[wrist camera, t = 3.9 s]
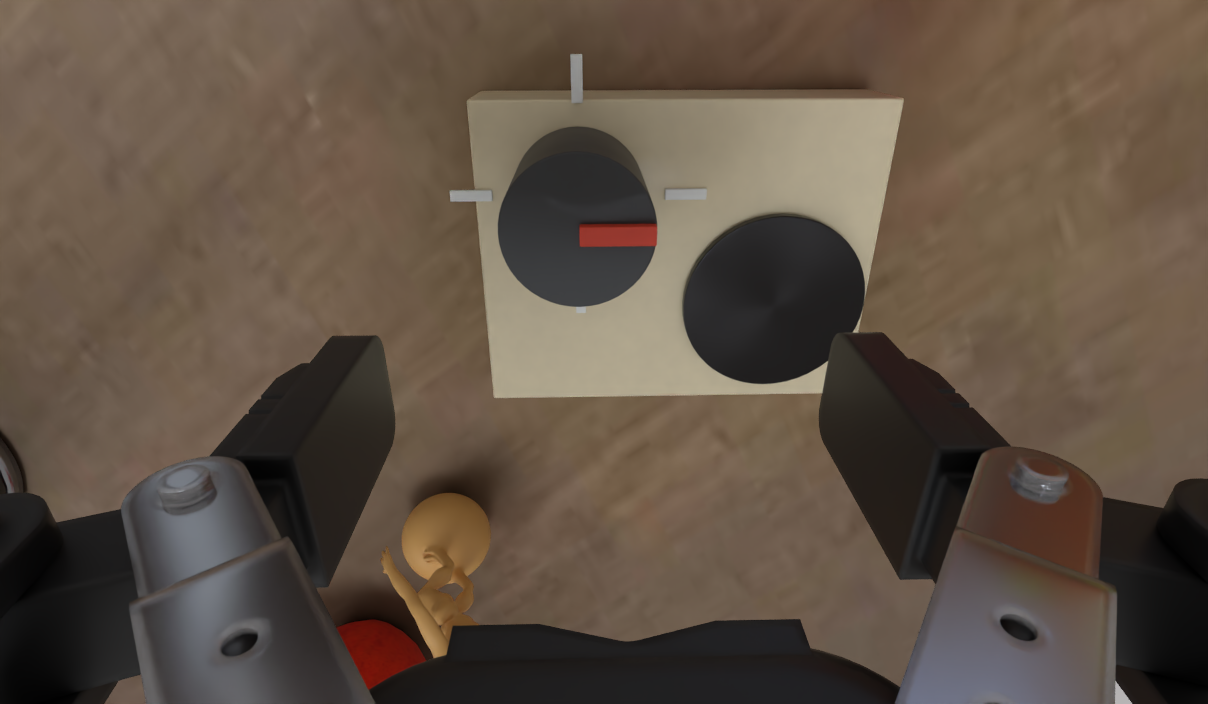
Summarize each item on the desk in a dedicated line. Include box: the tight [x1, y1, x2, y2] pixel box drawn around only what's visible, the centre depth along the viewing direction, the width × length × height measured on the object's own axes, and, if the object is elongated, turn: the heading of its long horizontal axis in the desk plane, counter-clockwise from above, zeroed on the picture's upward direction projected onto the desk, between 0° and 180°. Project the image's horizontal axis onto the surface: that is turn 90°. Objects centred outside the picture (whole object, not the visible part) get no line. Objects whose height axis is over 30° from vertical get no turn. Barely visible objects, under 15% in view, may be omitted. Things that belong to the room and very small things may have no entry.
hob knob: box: [498, 126, 658, 307], centre depth 20 cm, size 4×4×5 cm
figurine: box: [381, 493, 491, 658], centre depth 26 cm, size 8×6×12 cm
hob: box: [449, 54, 904, 398], centre depth 24 cm, size 15×12×3 cm
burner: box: [682, 213, 865, 384], centre depth 24 cm, size 7×7×1 cm
